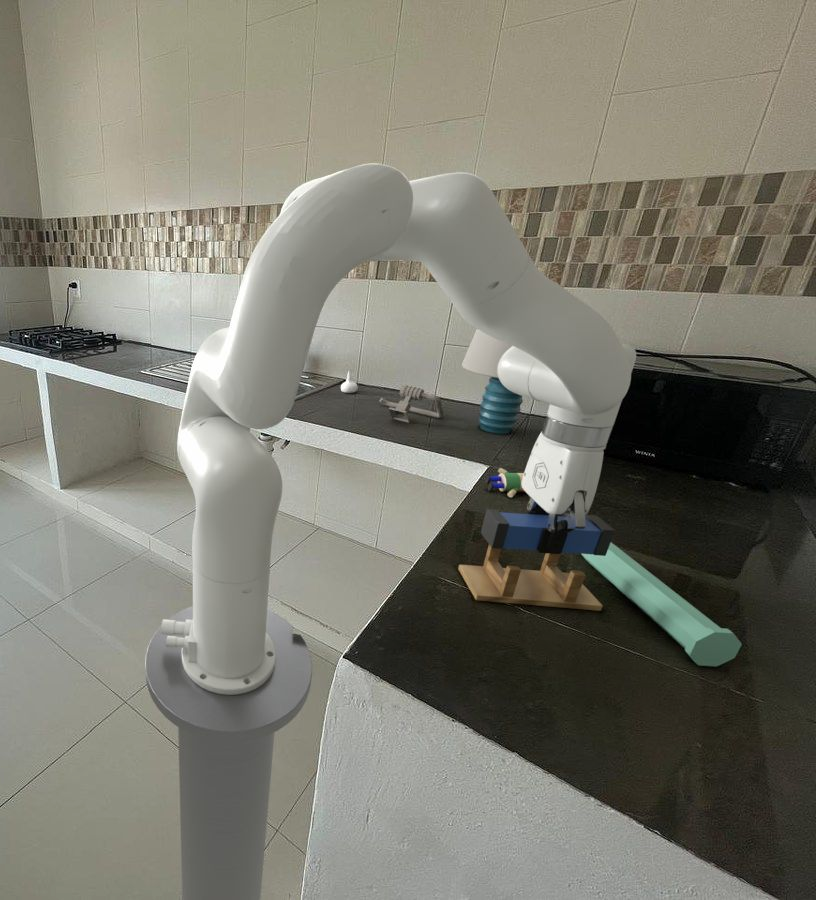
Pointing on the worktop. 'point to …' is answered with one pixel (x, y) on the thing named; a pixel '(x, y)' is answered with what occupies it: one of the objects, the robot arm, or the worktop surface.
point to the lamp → (492, 384)
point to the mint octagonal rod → (667, 609)
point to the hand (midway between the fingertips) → (540, 542)
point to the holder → (528, 584)
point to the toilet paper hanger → (404, 406)
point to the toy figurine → (506, 482)
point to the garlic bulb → (349, 385)
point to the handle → (528, 530)
